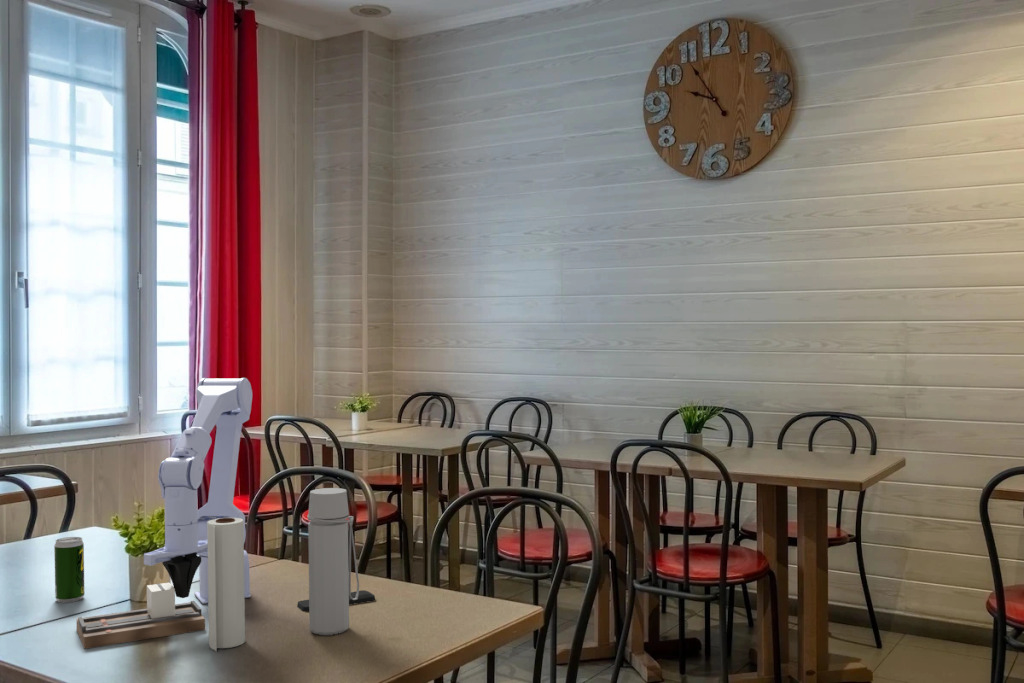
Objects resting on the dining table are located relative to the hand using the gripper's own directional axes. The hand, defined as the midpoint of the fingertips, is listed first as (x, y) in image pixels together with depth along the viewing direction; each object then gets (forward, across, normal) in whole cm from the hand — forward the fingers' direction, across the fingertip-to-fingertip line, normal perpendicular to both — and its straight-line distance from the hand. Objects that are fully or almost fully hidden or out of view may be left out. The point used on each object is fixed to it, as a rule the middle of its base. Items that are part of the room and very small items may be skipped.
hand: (182, 596), depth 180 cm
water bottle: (+5, -13, +26) cm, 29 cm away
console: (+5, +7, -3) cm, 9 cm away
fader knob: (+2, +3, -2) cm, 5 cm away
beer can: (+5, +3, -32) cm, 33 cm away
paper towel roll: (+5, +4, +16) cm, 17 cm away
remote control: (+6, -25, +14) cm, 29 cm away
